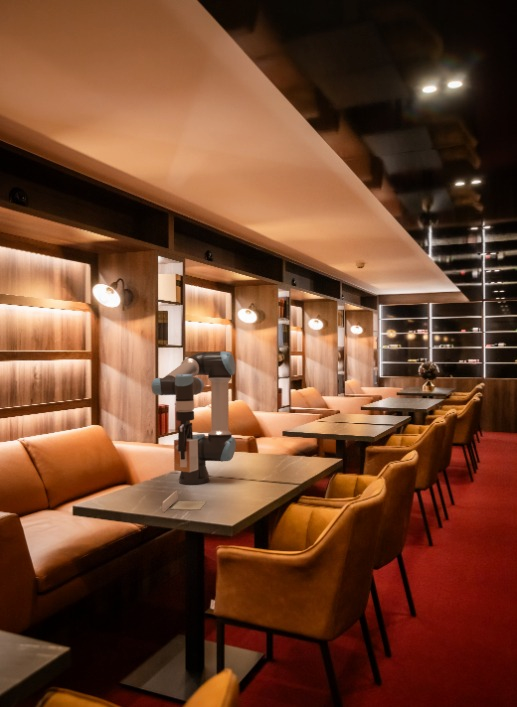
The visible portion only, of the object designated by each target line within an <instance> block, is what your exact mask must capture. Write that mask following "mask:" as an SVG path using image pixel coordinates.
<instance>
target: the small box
mask: <svg viewBox="0 0 517 707" xmlns="http://www.w3.org/2000/svg"><path fill="white" fill-rule="evenodd" d="M186 451H187V467H180V452H178V438H177V439H174V440H173V455H174V456H173V457H174V458H173V462H174V464H173V465H174V472H175V471H177V472H181V471H183V472H192V471H196V470H198V439H187V441H186Z"/></svg>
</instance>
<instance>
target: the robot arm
mask: <svg viewBox="0 0 517 707" xmlns="http://www.w3.org/2000/svg"><path fill="white" fill-rule="evenodd" d="M236 370H237V369H236V362H235V358H234V355H233V354H232V353H231V352H230V351H223V350H221V351H202V352H197V353H195V354H191V355H190V356H188V357H186V358H185V359H183V360H182V362H181V363H180V365H178V366H177V367H176V368H175V369H173V370H172V371H171V372H169V373H168V374H166V375H165V376H164V377H157V378H154V379H152V382H151V390H152V393H153V395H155V396H175V403H174V405H175V410H176V412H175V419H176V421H178V422H180V424H179V426H177V430H178V432H177V433H178V434H177V435H178V437H177V439H178V452H180V467H187V451H186V441H187V439H198V470H196V471H192V472H183V471H180V472H179V477H178V483H179V484H182V485H189V486H191V485H192V486H194V485H202V484H206V483H209V482H210V474H209V472H208V468H207V466H206V464H207V463H206V462H222V463H223V462H230V461H231V460H232V459H233V458H234V455H235V451H236V447H237V446H236V445H237V443H236V438H235V437H233V436H232V435H233V433H232V432H231V431H230V429H229V427H230V426H229V420H230V419H229V409H230V408H229V403H230V402H229V399H230V398H229V395H230V394H229V385H230V384H229V382H230V381H231V380H232V376H234V375H235V373H236ZM196 376H208V378H207V379H208V380H209V381H210V383H211V384H210V385H211V386H210V387H211V391H210V392H211V395H210V396H211V397H210V398H211V399H210V402H211V408H210V409H211V410H210V411H211V412H210V413H211V414H210V416H211V417H210V420H211V421H210V422H211V423H210V425H211V426H210V428H211V430H210V431H209V432H208V434H207V437H206V434H204V433H197V434H193V422H191V421H194V419H195V411H194V410H195V399H194V396H195V395H199V394H201V393H202V392H203V390H204V386H205V384H204V381H203V379H201V378H200V377H196Z"/></svg>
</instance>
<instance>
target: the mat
mask: <svg viewBox="0 0 517 707" xmlns="http://www.w3.org/2000/svg"><path fill="white" fill-rule="evenodd" d="M206 503H207V501H201V500H199V501H197V500H196V501H195V500H194V501H193V500H192V501H191V500H190V501H189V500H188V501H187V500H181V501H180V500H178V501H177V502H175V503H174V504H173V505H172V506H171V507H170V508H171V509H174V511H177V510H178V511H179V510H180V511H182V510H183V511H185V510H187V511H190V510H191V511H199V510H201V509H202V508H203V507H204V505H205V504H206ZM171 509H170V510H171Z"/></svg>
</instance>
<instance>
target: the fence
mask: <svg viewBox="0 0 517 707" xmlns="http://www.w3.org/2000/svg"><path fill="white" fill-rule="evenodd" d="M178 493H179V492H178V490H174V492H172V493H171V494H170V495H169V496H168V497H167V498H165V499H164V500H163V501H162V503H161V504H162V513H165V512H167V510H169V509H170V508H171V507H172V506H173V505H175V504H176V503H177V502H178V501H179V496H178ZM172 504H173V505H172ZM171 505H172V506H171ZM170 506H171V507H170ZM169 507H170V508H169Z"/></svg>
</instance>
